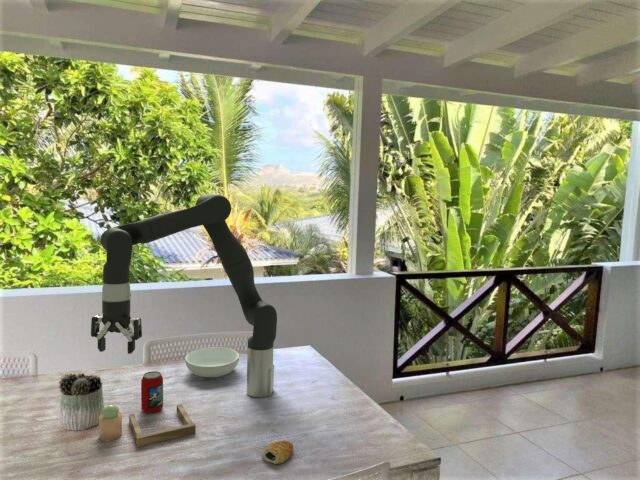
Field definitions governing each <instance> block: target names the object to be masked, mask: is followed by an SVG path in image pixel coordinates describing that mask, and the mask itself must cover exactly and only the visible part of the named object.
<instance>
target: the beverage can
mask: <svg viewBox="0 0 640 480" xmlns="http://www.w3.org/2000/svg"><path fill="white" fill-rule="evenodd" d="M140 391H141V392H140V393H141V394H140V396H141V399H140V400H141V402H140V405H141V407H140V408H141V411H143V412H145V413H147V414H154V413H157V412H159V411H160V410H162V409H163V407H164V377H163V375H162V374H161V372H160V371H156V370H155V371H153V370H152V371H151V370H150V371H147V372H145V373H144V374H143V376H142V378H141V381H140Z"/></svg>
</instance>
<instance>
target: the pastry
mask: <svg viewBox="0 0 640 480" xmlns="http://www.w3.org/2000/svg"><path fill="white" fill-rule="evenodd" d="M293 452H294V445H293V444H292V443H291V442H290V441H288V440H281V441H280V440H279V441H275V442H271V443H270V445H266V447H265V449H264V450H263V452H262V453H261V457H262V459H263V460H264V461H265V462H268V463H272V464H274V465H280V464H283V463H285V462H286V461H288V460H289V458H290V457H291V455H292V453H293Z"/></svg>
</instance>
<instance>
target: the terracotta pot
mask: <svg viewBox="0 0 640 480" xmlns="http://www.w3.org/2000/svg"><path fill="white" fill-rule="evenodd" d="M122 416H123V414H122V412H121V411H119V408H118V406H117V405H115V404H108V405H107V406H104V407H103V409H102V413H101V414H100V415H99V417H98V421H99V423H98V424H99V425H98V427H99V428H98V429H99V439H100V440H101V441H104V442H106V441H107V442H110V441H114V440H117V439H118V438H120V437H122V435H123V423H122V422H123V417H122Z"/></svg>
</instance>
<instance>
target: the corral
mask: <svg viewBox="0 0 640 480" xmlns="http://www.w3.org/2000/svg"><path fill="white" fill-rule="evenodd" d="M176 413H177V415H178V418H179V419H180V421H181V423H183V425H179V426H176V427H169V428H167V429H163V430H158V431H154V432H153V431H152V432H148V433H145V434H143V432H142V430H141V427H140V424H139V421H138V419H137V417H136V415H135V413H131V414H129V415H128V419H129V420H128V423H129V425H130V428H131V429H130V430H131V431H132V434H133V436H134V439H135V442H136V443H135V445H136V447H137V448H138V447H142V446H147V445H151V444H155V443H160V442H164V441H165V442H166V441H169V440H173V439H177V438H182V437H185V436H189V435H194V434H196V423H194V421H193V420H192V418H191V417H190V416H189V414H188V412H187V411H186V409H185V408H184V406H183V404H182V403H179V404H177V405H176Z"/></svg>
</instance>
